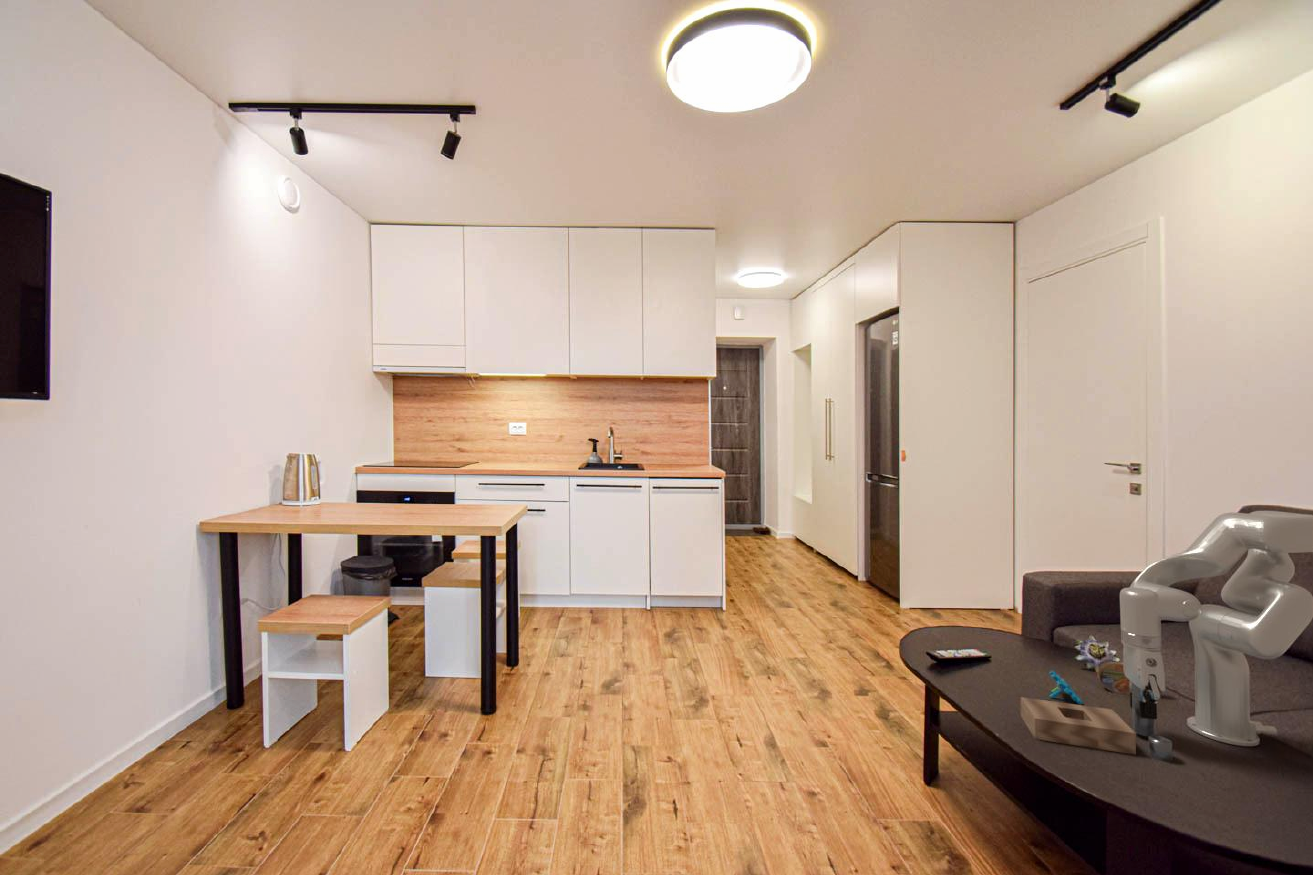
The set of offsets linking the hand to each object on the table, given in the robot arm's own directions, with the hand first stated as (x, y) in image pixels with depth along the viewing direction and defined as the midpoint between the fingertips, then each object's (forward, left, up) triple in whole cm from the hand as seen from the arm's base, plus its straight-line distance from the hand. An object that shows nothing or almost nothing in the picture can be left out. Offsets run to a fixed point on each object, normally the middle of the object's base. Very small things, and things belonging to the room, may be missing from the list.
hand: (1143, 712), depth 135 cm
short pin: (+1, +9, -6) cm, 11 cm away
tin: (-8, -29, -6) cm, 31 cm away
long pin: (0, 0, -5) cm, 5 cm away
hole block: (+16, +4, -6) cm, 17 cm away
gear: (+11, -17, -6) cm, 21 cm away
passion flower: (-6, -47, -6) cm, 48 cm away
